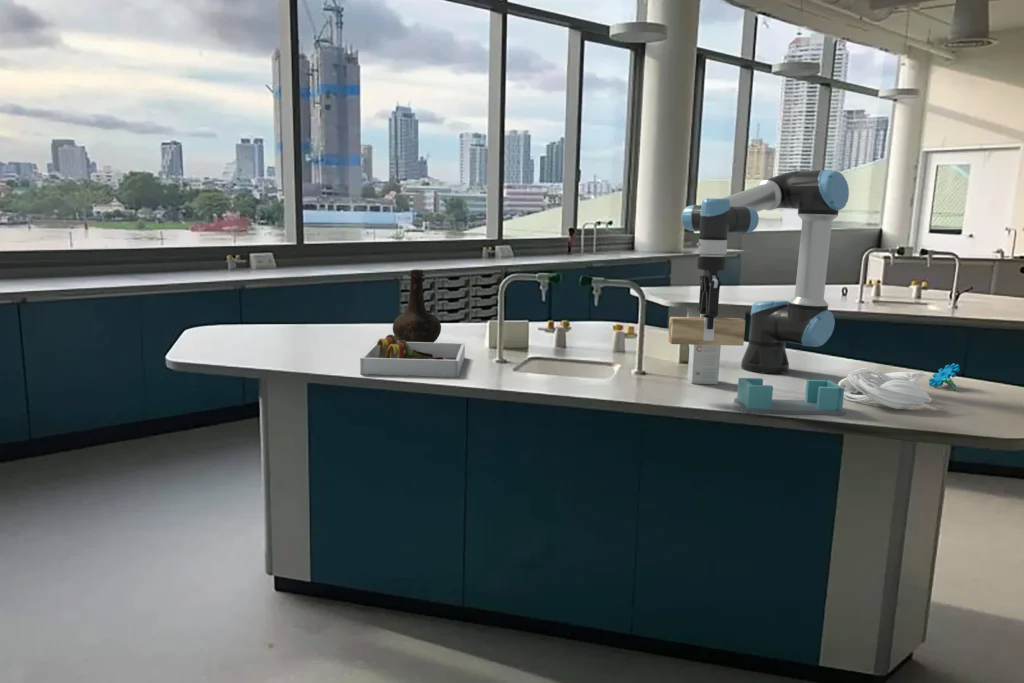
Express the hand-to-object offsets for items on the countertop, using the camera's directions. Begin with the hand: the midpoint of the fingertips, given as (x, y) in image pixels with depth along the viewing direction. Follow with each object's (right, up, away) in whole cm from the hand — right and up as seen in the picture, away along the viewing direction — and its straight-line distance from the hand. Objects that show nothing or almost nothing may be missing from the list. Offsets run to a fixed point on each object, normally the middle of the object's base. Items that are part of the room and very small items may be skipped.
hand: (705, 338), depth 212 cm
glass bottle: (-90, -2, +68) cm, 112 cm away
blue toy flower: (+79, -15, +21) cm, 83 cm away
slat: (0, -1, 0) cm, 1 cm away
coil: (+50, -18, +2) cm, 54 cm away
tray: (-86, -9, +33) cm, 92 cm away
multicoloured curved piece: (-85, -9, +33) cm, 92 cm away
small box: (+4, -13, +20) cm, 25 cm away
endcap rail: (+20, -19, -8) cm, 29 cm away
